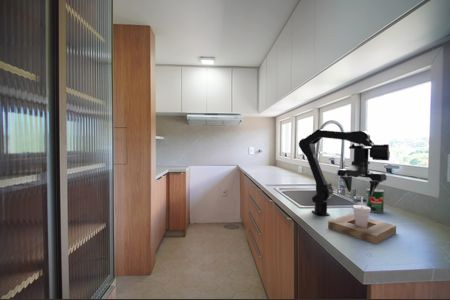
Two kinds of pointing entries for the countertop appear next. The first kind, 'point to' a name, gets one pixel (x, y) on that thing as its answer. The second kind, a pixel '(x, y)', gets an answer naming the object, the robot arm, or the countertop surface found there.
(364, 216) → the smoothie
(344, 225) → the hole board
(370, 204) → the canned tomato
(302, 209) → the countertop surface
